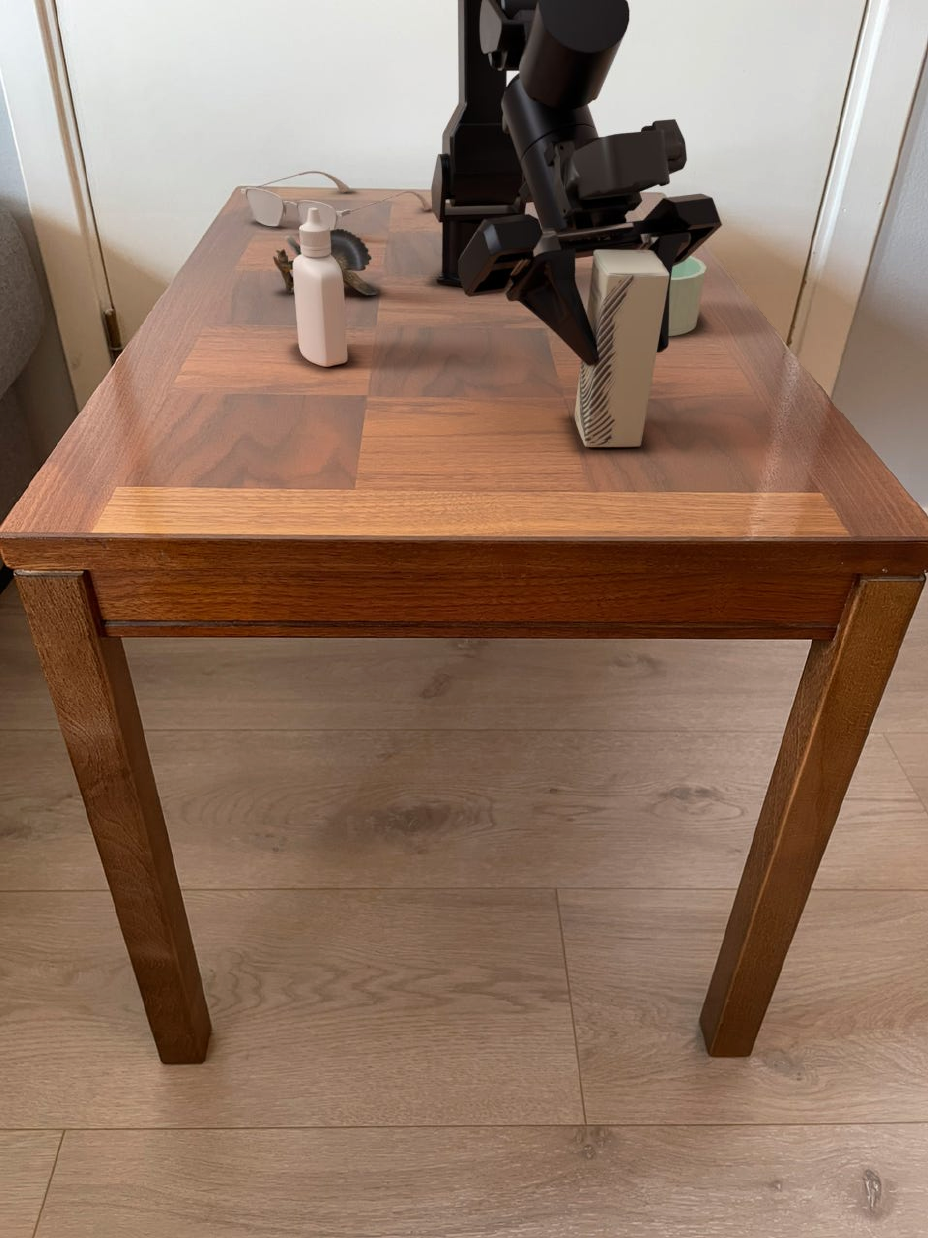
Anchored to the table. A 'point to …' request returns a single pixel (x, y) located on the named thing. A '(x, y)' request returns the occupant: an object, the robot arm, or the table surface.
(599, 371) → the box
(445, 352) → the table surface
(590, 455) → the table surface
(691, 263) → the bowl
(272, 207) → the eyeglasses
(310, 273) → the eye dropper bottle
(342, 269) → the brown grey figurine
